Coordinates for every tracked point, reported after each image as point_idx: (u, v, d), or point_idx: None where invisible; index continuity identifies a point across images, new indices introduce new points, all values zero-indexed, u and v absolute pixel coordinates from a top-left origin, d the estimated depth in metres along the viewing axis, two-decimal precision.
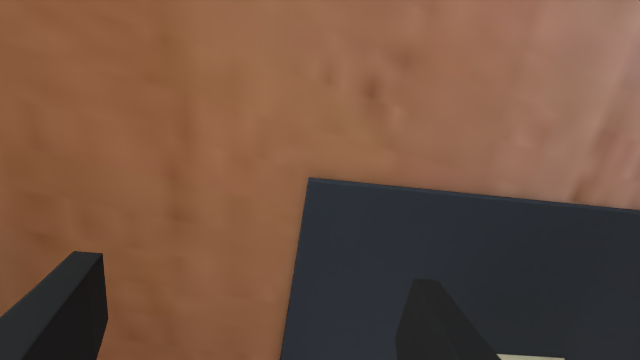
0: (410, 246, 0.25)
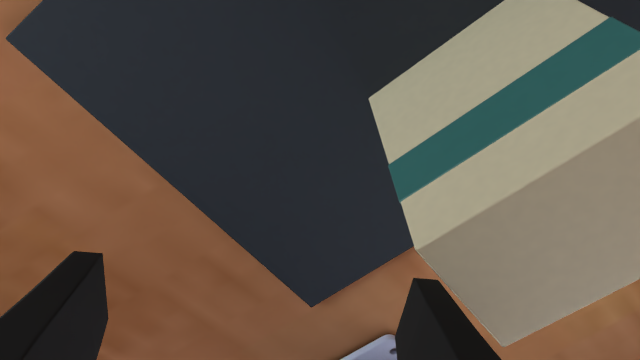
0: (173, 13, 0.18)
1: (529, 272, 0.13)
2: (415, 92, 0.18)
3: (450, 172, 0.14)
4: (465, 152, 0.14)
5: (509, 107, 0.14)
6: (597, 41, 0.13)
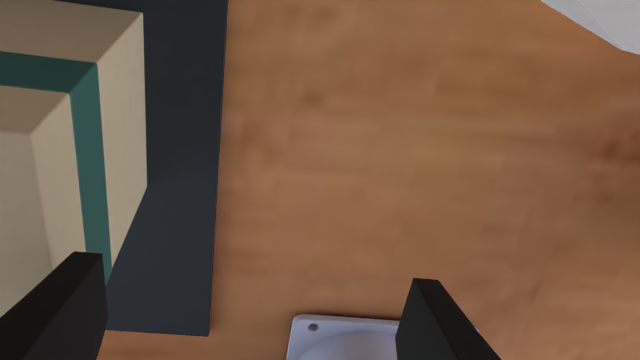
0: None
1: None
2: None
3: None
4: None
5: None
6: None
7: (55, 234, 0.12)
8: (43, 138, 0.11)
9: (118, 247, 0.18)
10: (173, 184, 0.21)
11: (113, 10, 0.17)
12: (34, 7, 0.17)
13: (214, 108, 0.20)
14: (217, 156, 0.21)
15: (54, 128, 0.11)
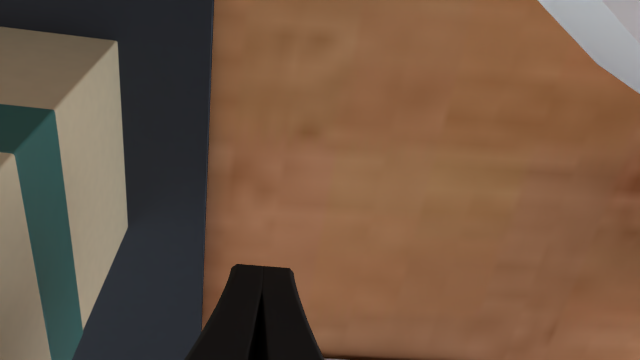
0: None
1: None
2: None
3: None
4: None
5: None
6: None
7: None
8: None
9: (91, 304, 0.16)
10: (157, 224, 0.19)
11: (83, 39, 0.15)
12: None
13: (200, 143, 0.18)
14: (204, 194, 0.19)
15: None
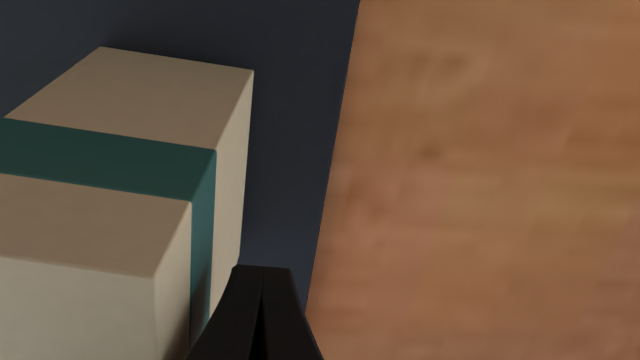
0: None
1: None
2: None
3: None
4: None
5: None
6: None
7: None
8: (165, 273, 0.08)
9: None
10: (269, 244, 0.19)
11: (221, 68, 0.15)
12: (136, 65, 0.14)
13: (323, 165, 0.18)
14: (321, 214, 0.19)
15: (176, 252, 0.09)
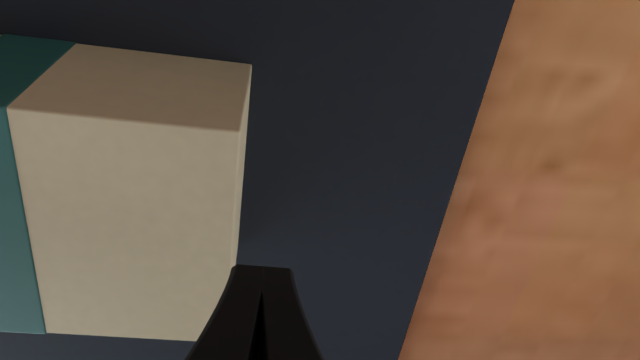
0: None
1: None
2: None
3: None
4: None
5: None
6: None
7: None
8: None
9: (76, 328, 0.15)
10: (386, 253, 0.20)
11: (229, 113, 0.13)
12: (210, 76, 0.14)
13: (450, 177, 0.18)
14: (440, 225, 0.19)
15: None
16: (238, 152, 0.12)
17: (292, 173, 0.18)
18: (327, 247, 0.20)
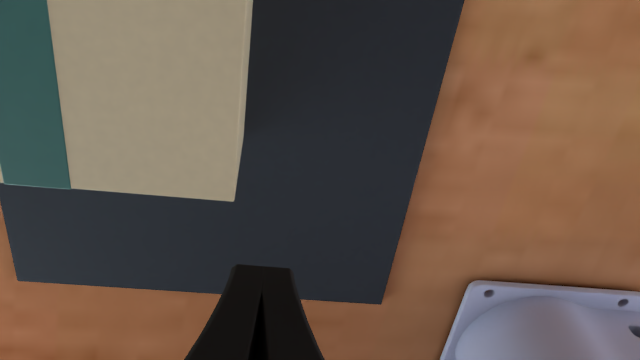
0: (74, 193, 0.22)
1: None
2: None
3: None
4: None
5: None
6: None
7: None
8: None
9: (98, 184, 0.16)
10: (382, 145, 0.21)
11: None
12: None
13: (440, 66, 0.20)
14: (431, 116, 0.21)
15: None
16: None
17: (294, 60, 0.19)
18: (326, 138, 0.21)
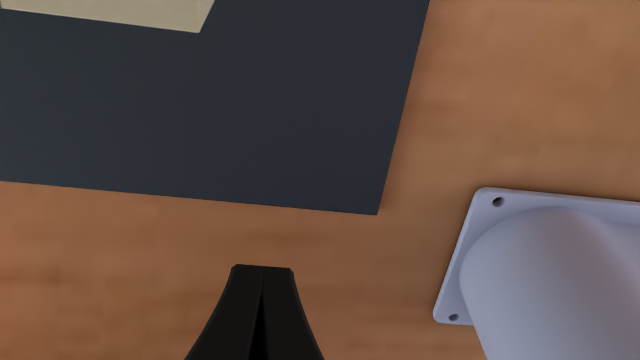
0: (24, 64, 0.19)
1: None
2: None
3: None
4: None
5: None
6: None
7: None
8: None
9: (34, 2, 0.14)
10: (378, 9, 0.19)
11: None
12: None
13: None
14: None
15: None
16: None
17: None
18: None
